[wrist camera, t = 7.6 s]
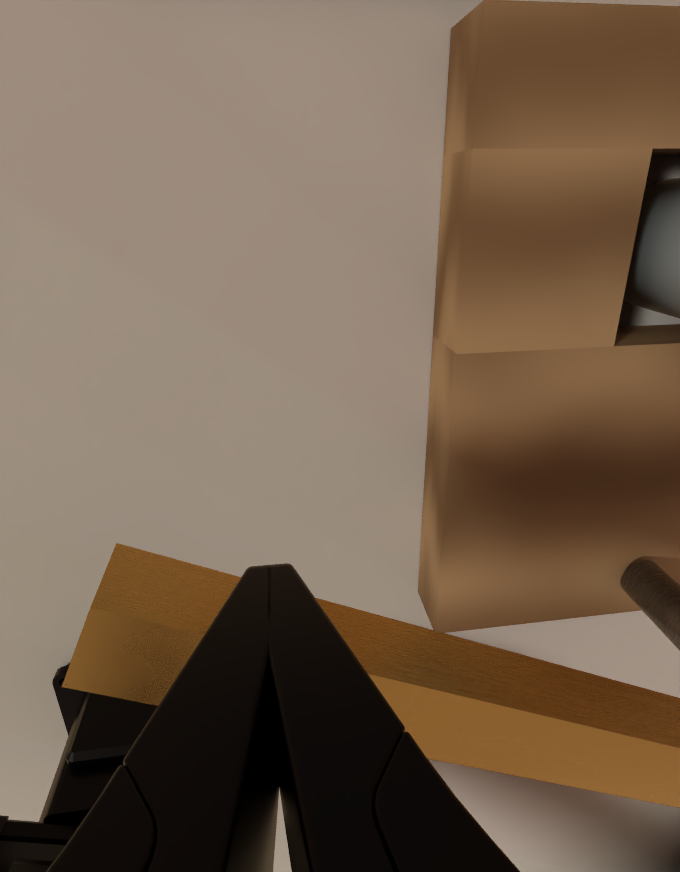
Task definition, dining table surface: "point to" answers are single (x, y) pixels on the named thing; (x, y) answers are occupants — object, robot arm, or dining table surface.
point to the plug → (657, 251)
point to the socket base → (549, 319)
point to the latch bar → (415, 679)
